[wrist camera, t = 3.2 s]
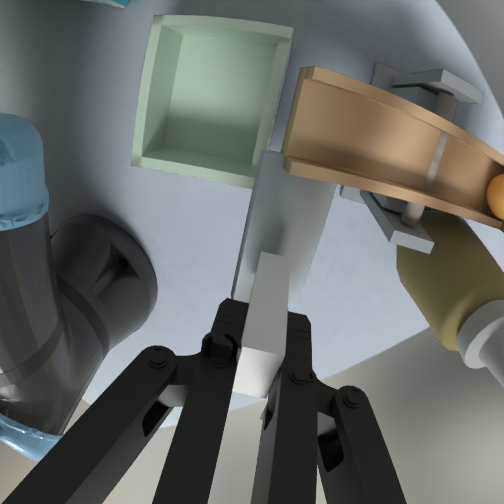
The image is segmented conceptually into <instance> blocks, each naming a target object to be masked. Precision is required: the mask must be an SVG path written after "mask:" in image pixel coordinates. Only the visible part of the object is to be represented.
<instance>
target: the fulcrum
mask: <svg viewBox="0 0 504 504" xmlns="http://www.w3.org/2000/svg"><path fill="white" fill-rule="evenodd" d="M371 85H373V86H375V87H378V88H380V89H382V90H385V91H387V92H390V93H392V94H394V95H396V96H399V97H401V98H403V99H405V100H408V101H410V102H412V103H414V104H416V105H418V106H420V107H422V108H424V109H426V110H428V111H430V112H432V113H434V112H435V108H436V104H437V100H438V96H439V93H444V94H447V95H450V96H452V97H454V98H455V99H457V101H458V102H466V103H474V104H482V100H483V95H484V92H483V91H481V90H479V89H478V88H476V87H475V86H473V85H471V84H470V83H468V82H466V81H464V80H463V79H461V78H459V77H457V76H456V75H454V74H452V73H450V72H448V71H446V70H444V69H438V70H431V71H424V72H417V73H411V74H405V73H403V72H401V71H398V70H396V69H393V68H391V67H388V66H386V65H383V64H380V63H376V64H375V68H374V73H373V77H372V81H371ZM456 106H457V105H456ZM455 110H456V108H455ZM454 114H455V112H454ZM453 118H454V116H453ZM452 122H453V120H452ZM340 196H341V197H342V198H345V199H349V200H352V201H355V202H359V203H362V204H366V205H367V206H368V208H369V210H370V211H371V213H372V214H373V216H374V217H375V219H376V221H377V222H378V224H379V226H380V227H381V229H382V231H383V232H384V234H385V236H386V237H387V239H388V241H389V242H390V243H394V244H397V245H401V246H404V247H408V248H411V249H414V250H418V251H421V252H424V253H428V254H430V252H431V250H432V248H433V246H434V243H435V242H434V241H433V240H432V239H431V238H430V236H429V235H428V234H427V233H426V232H425V230H424V229H423V228H422V227H421V226H420V225H419V223H418V224H417V226H413V225H410V224H408V223H406V222H404V221H403V220H401V215H402V212H403V210H404V207H405V204H406V202H407V201H406V200H402V199H398V198H394V197H390V196H386V195H382V194H378V193H374V192H370V191H366V190H362V189H357V188H353V187H348V186H344V185H343V187H342V190H341V194H340ZM424 208H425V207H424ZM423 210H424V209H423ZM422 213H423V212H422ZM421 215H422V214H421ZM420 218H421V217H420Z"/></svg>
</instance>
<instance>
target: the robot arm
mask: <svg viewBox="0 0 504 504" xmlns="http://www.w3.org/2000/svg"><path fill="white" fill-rule="evenodd" d="M48 209H49V191H48V188H47V186H46V184H45V171H44V149H43V142H42V138H41V135H40V133H39V131H38V130H37V128H36V127H35V126H34V125H33V124H32V123H31V122H29V121H28V120H26V119H24V118H22V117H19V116H16V115H12V114H6V113H0V440H1V441H2V442H4V443H5V444H7V445H8V446H10V447H11V448H12V449H14V450H16V451H17V452H19V453H20V454H22V455H23V456H26V457H27V458H29V459H31V460H35V461H40V462H39V463H38V464H37V465H36V466H35V467H34V468H33V469H32V470H31V471H30V473H29V474H28V475H27V476H26V477H25V478H24V479H23V481H21V483H20V484H19V485H18V486H17V487H16V488H15V490H13V491H12V493H11V494H10V495H9V496H8V497H7V498H6V499H5V501H4V502H3V503H2V504H102V503H103V502H104V500H105V499H106V498H107V496H108V495H109V494H110V492H111V491H112V490H113V489H114V487H115V486H116V485H117V483H118V482H119V481H120V479H121V478H122V477H123V475H124V474H125V473H126V472H127V470H128V469H129V467H130V466H131V465H132V464H133V462H134V461H135V460H136V458H137V457H138V455H139V454H140V453H141V451H142V450H143V449H144V447H145V446H146V445H147V443H148V442H149V441H150V439H151V438H152V437H153V435H154V434H155V433H156V431H157V430H158V428H159V427H160V426H161V424H162V423H163V422H164V420H165V419H166V417H167V416H168V415H169V413H170V412H171V411H172V409H173V408H174V407H183V409H182V412H181V415H180V418H179V421H178V424H177V427H176V430H175V434H174V436H173V439H172V443H171V446H170V449H169V452H168V455H167V458H166V461H165V464H164V467H163V470H162V474H161V477H160V480H159V483H158V486H157V489H156V492H155V496H154V499H153V502H152V504H207V503H208V498H209V494H210V489H211V485H212V481H213V476H214V472H215V467H216V462H217V458H218V454H219V449H220V445H221V440H222V435H223V431H224V426H225V422H226V417H227V413H228V408H229V404H230V399H231V394H232V391H233V392H238V393H242V394H247V395H251V396H256V397H261V398H267V395H268V393H269V395H268V402H267V405H266V407H265V409H264V411H263V413H262V415H261V417H260V419H262V420H263V424H262V431H261V437H260V445H259V452H258V458H257V465H256V472H255V479H254V485H253V491H252V497H251V504H315V503H316V482H317V465H318V468H319V473H320V477H321V481H322V485H323V489H324V493H325V497H326V501H327V504H407V503H406V501H405V497H404V494H403V491H402V489H401V486H400V483H399V480H398V477H397V474H396V471H395V468H394V466H393V463H392V460H391V457H390V455H389V452H388V449H387V446H386V444H385V441H384V439H383V436H382V433H381V431H380V428H379V426H378V423H377V420H376V418H375V415H374V412H373V410H372V407H371V405H370V403H369V400H368V398H367V396H366V394H365V393H364V392H363V391H362V390H361V389H359V388H357V387H355V386H343V387H341V388H340V389H339V390H337V389H334V388H332V387H330V386H327V385H326V384H324V383H322V382H321V381H320V380H318V379H317V377H316V374H315V373H314V371H313V369H312V342H311V323H310V321H309V320H308V318H307V316H306V315H303V314H298V313H293V312H289V311H288V295H289V272H290V258H287V257H283V256H279V255H275V254H270V253H266V252H262V251H261V254H260V258H259V262H258V266H257V270H256V274H255V278H254V282H253V286H252V290H251V294H250V299H249V303H246V302H242V301H238V300H234V299H230V298H226V299H225V300H224V301H223V302H222V303H221V304H220V305H219V308H218V311H217V314H216V317H215V320H214V323H213V326H212V329H211V332H210V333H208V334H206V335H205V337H204V338H203V340H202V347H201V352H199V353H197V354H194V355H189V356H176V355H175V354H174V352H173V351H171V350H170V349H169V348H167V347H164V346H155V345H154V346H150V347H147V348H146V349H144V350H143V351H142V352H141V353H140V354H139V355H138V356H137V357H136V358H135V359H134V360H133V361H132V362H131V363H130V364H129V365H128V366H127V368H126V369H125V370H124V371H123V372H122V373H121V374H120V375H119V376H118V377H117V378H116V379H115V380H114V381H113V382H112V384H111V385H110V386H109V387H108V388H107V389H106V390H105V391H104V392H103V393H102V394H101V395H100V396H99V397H98V399H97V400H96V401H95V402H94V403H93V404H92V405H91V406H90V407H89V408H88V410H86V411H85V413H84V414H83V415H82V416H81V417H80V418H79V419H78V420H77V421H76V422H75V423H74V425H73V426H72V427H71V428H70V429H69V430H68V431H67V432H66V433H65V434H64V435H63V432H64V430H65V428H66V426H67V424H68V422H69V420H70V418H71V417H72V415H73V413H74V411H75V409H76V407H77V406H78V404H79V402H80V400H81V398H82V396H83V395H84V393H85V391H86V389H87V388H88V386H89V384H90V382H91V380H92V379H93V377H94V375H95V374H96V372H97V370H98V368H99V367H100V365H101V363H102V361H103V360H104V358H105V356H106V355H107V353H108V352H109V350H110V349H112V348H113V347H114V346H116V345H117V344H119V343H120V342H121V341H123V340H124V339H125V338H127V337H128V336H129V335H131V334H132V333H133V332H135V331H137V330H138V329H139V328H140V327H141V326H142V325H143V324H144V323H145V322H146V320H147V319H148V317H149V315H150V313H151V312H152V310H153V308H154V306H155V303H156V300H157V283H156V278H155V274H154V271H153V269H152V266H151V264H150V262H149V260H148V258H147V256H146V255H145V253H144V252H143V250H142V249H141V248H140V246H139V245H138V244H137V243H136V242H135V240H134V239H133V238H132V237H131V236H130V235H129V234H127V233H126V232H125V231H124V230H123V229H121V228H120V227H118V226H117V225H115V224H114V223H112V222H110V221H108V220H106V219H103V218H100V217H97V216H91V215H80V216H76V217H73V218H71V219H69V220H67V221H66V222H64V223H63V224H62V225H60V226H59V227H57V228H56V229H55V230H54V231H53V232H52V233H51V234H50V231H49V220H48Z"/></svg>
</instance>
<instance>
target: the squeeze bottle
mask: <svg viewBox="0 0 504 504" xmlns="http://www.w3.org/2000/svg"><path fill="white" fill-rule="evenodd" d="M418 223H419V225H420V226H421V227H422V228H423V229H424V230H425V232H426V233H427V234H428V235H429V236H430V238H431V239H432V240H433V241H434V242H435V243H434V246H433V248H432V250H431V252H430V254H428V253H424V252H421V251H418V250H414V249H411V248H408V247H404V246H401V245H397V271H398V274H399V278H400V281H401V283H402V284H403V286H404V287H405V289H406V290H407V291H408V293H409V294H410V296H411V297H412V299H413V300H414V302H415V303H416V305H417V306H418V308H419V309H420V311H421V312H422V314H423V315H424V317H425V319H426V320H427V322H428V323H429V325H430V326H431V328H432V330H433V331H434V333H435V334H436V336H437V338H438V339H439V341H440V342H441V343H442V344H443V345H444V346H445V347H446V348H447V349H449V350H455V351H459V352H460V354H461V356H462V359H463V361H464V363H465V364H466V365H467V366H468V367H469V368H477V369H478V368H482V367H485V366H486V367H487V368H489V370H490V371H491V372H492V374H493V375H494V376H495V377H496V378H497V380H498V381H499V382H500V383H501V385H502V386H503V387H504V272H503V271H502V269H501V268H500V266H499V265H498V264H497V262H496V261H495V259H494V258H493V256H492V255H491V254H490V252H489V251H488V250H487V248H486V247H485V246H484V244H483V243H482V242H481V240H480V239H479V238H478V236H477V235H476V234H475V232H474V231H473V230H472V229H471V227H470V226H469V225H468V224H467V222H466V221H465V220H463V219H461V218H459V217H457V216H455V215H453V214H450V213H444V212H438V211H423V213H422V215H421V218H420V219H419V222H418Z"/></svg>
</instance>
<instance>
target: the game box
mask: <svg viewBox="0 0 504 504" xmlns="http://www.w3.org/2000/svg"><path fill="white" fill-rule="evenodd" d="M82 1H88V2H94V3H99V4H105V5H110V6H114V7H119V8H125V7H126V6H127V4H128V3H129V1H130V0H82Z"/></svg>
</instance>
